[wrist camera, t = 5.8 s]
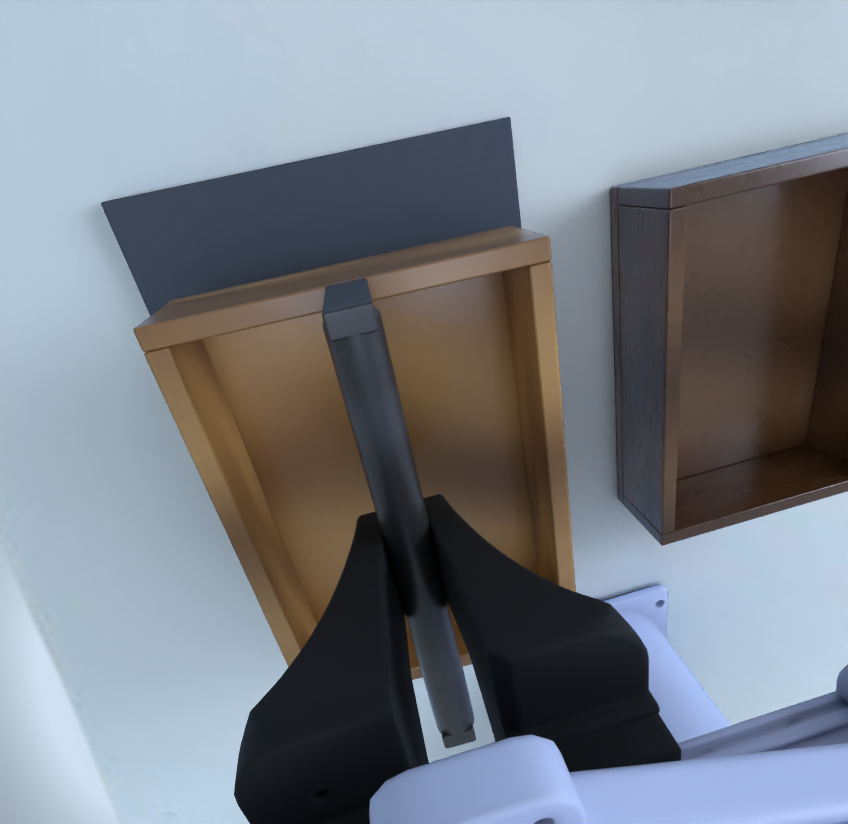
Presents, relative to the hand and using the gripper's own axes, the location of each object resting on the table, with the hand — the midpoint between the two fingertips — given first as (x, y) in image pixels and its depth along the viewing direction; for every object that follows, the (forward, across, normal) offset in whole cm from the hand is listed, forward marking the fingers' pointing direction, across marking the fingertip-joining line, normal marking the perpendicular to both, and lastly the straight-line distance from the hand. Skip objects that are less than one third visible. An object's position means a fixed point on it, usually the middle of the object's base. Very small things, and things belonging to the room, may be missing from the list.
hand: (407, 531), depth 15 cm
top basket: (+3, 0, 0) cm, 4 cm away
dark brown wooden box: (+7, -15, 0) cm, 17 cm away
